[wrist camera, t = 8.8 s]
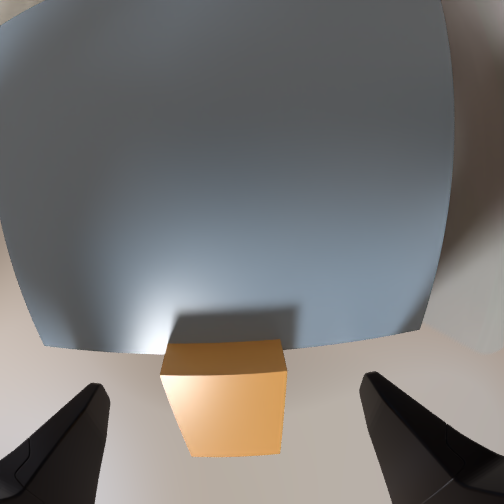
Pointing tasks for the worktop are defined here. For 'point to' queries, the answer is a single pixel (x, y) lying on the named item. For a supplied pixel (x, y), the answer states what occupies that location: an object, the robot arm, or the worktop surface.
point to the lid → (225, 186)
